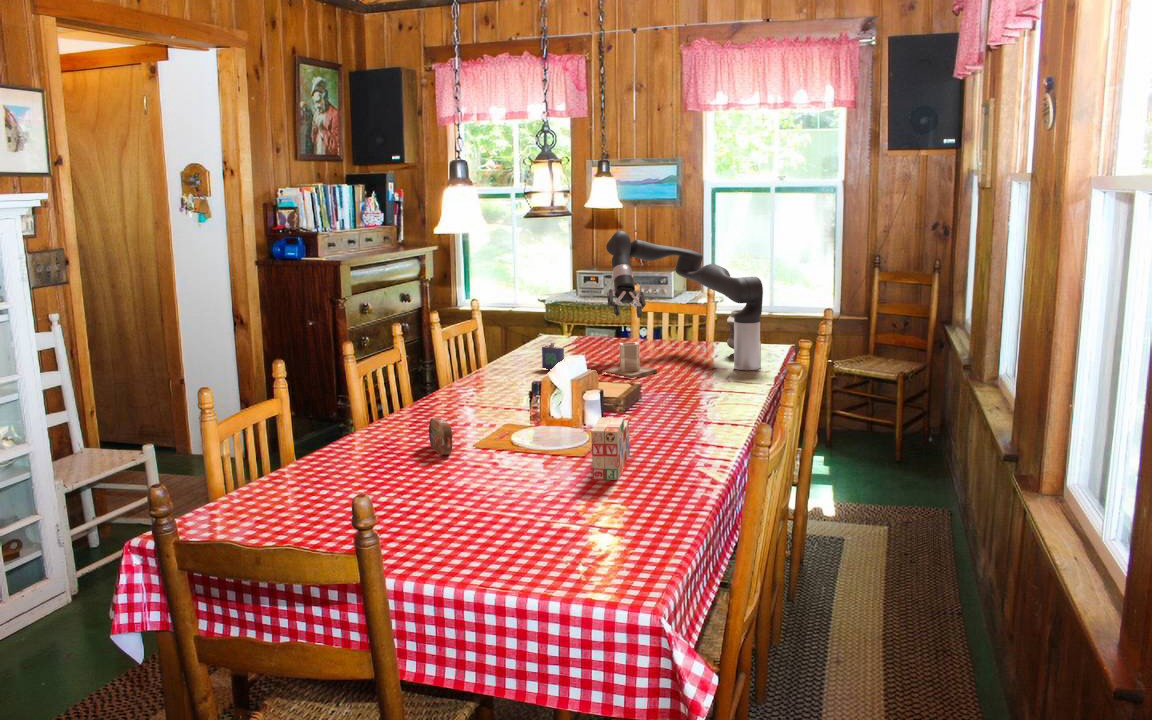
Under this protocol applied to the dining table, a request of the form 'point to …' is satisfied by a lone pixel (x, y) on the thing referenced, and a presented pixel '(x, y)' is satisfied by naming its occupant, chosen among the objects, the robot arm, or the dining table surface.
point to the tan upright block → (629, 357)
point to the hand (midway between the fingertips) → (628, 315)
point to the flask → (551, 355)
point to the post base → (631, 372)
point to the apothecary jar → (731, 330)
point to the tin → (440, 436)
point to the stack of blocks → (609, 448)
